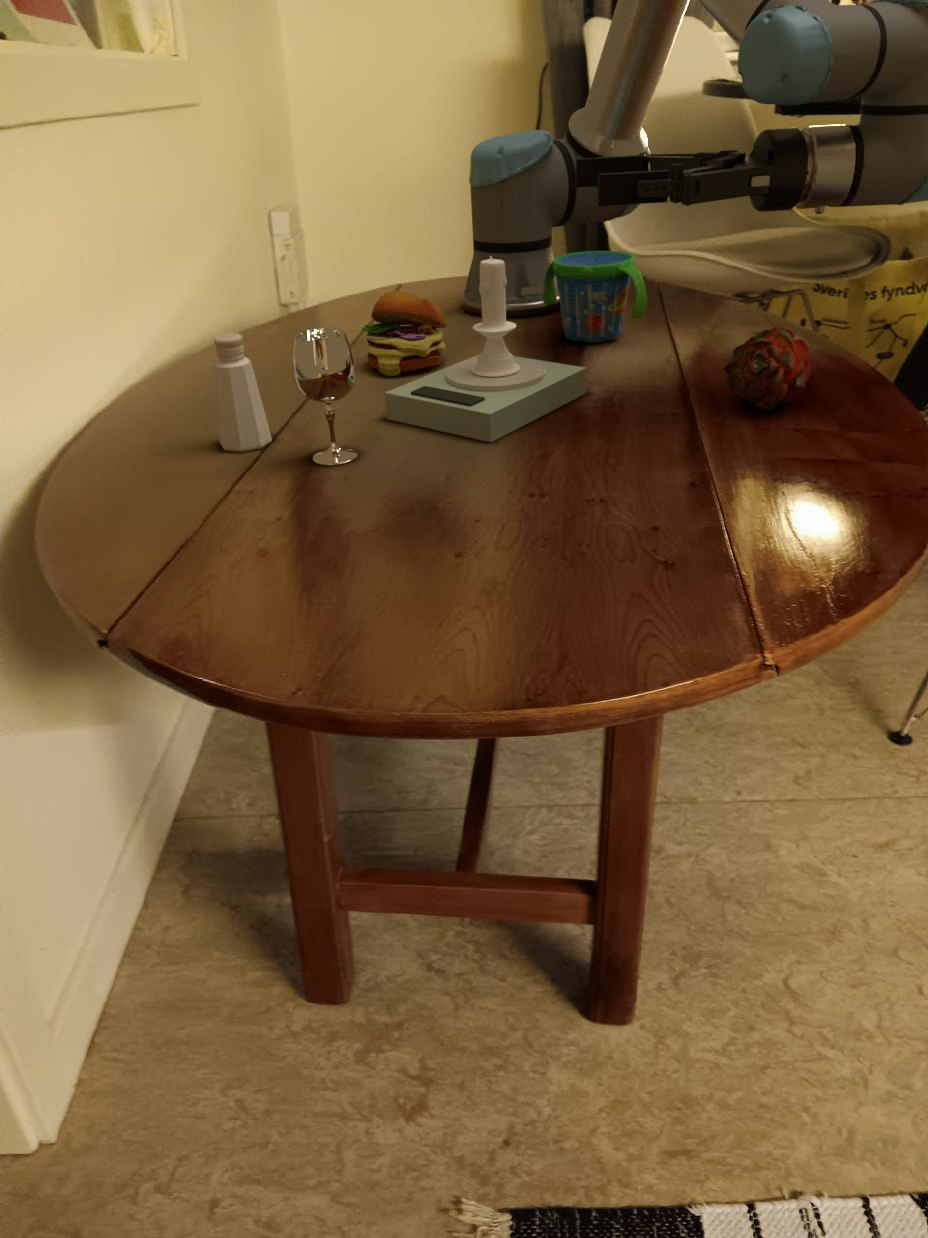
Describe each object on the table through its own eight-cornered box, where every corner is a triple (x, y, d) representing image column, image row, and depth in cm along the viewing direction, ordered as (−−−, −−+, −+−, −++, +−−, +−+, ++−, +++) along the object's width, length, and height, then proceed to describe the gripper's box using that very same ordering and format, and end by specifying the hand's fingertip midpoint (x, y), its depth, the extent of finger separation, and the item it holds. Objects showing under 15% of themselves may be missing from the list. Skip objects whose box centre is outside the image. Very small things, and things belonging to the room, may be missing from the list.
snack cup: (523, 335, 131) (522, 257, 125) (578, 320, 136) (579, 244, 131) (607, 356, 120) (610, 271, 115) (663, 339, 125) (667, 257, 120)
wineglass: (317, 472, 91) (300, 345, 85) (298, 454, 96) (280, 332, 89) (373, 459, 93) (360, 335, 87) (351, 442, 98) (337, 323, 92)
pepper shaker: (283, 440, 99) (266, 333, 93) (239, 456, 96) (220, 346, 90) (251, 430, 102) (234, 326, 97) (209, 445, 99) (188, 337, 93)
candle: (505, 379, 101) (502, 261, 95) (462, 374, 104) (456, 258, 98) (528, 366, 105) (527, 251, 99) (486, 361, 108) (482, 249, 102)
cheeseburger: (348, 374, 118) (347, 289, 115) (387, 371, 127) (387, 292, 124) (423, 378, 114) (424, 290, 111) (457, 375, 124) (459, 293, 121)
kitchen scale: (486, 375, 115) (485, 346, 113) (586, 393, 108) (586, 361, 106) (387, 419, 103) (384, 386, 101) (490, 442, 96) (489, 407, 94)
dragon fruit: (758, 437, 98) (753, 415, 108) (836, 388, 94) (823, 371, 105) (713, 367, 96) (713, 352, 107) (790, 315, 93) (782, 305, 103)
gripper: (839, 229, 87) (608, 243, 87) (753, 193, 108) (567, 203, 108) (853, 137, 83) (611, 151, 83) (761, 118, 105) (568, 129, 104)
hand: (586, 180), depth 95 cm, fingers open, 13 cm apart
